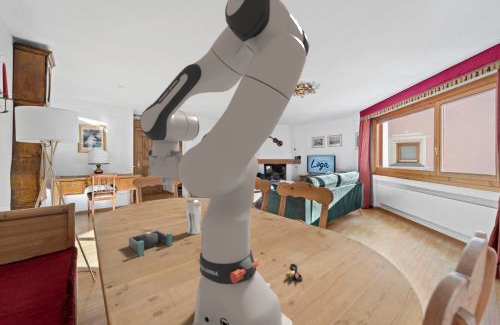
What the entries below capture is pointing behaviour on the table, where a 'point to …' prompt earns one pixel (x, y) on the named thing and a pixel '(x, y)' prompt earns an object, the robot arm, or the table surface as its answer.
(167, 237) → the cable holder
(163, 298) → the table surface
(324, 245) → the table surface
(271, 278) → the table surface
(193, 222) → the beer glass
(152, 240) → the dark grey rounded dome
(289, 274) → the composite cable
